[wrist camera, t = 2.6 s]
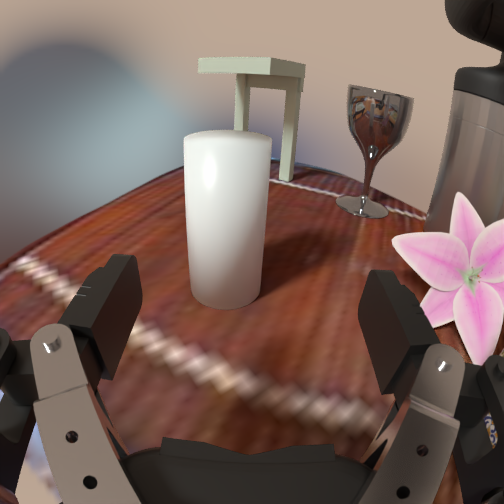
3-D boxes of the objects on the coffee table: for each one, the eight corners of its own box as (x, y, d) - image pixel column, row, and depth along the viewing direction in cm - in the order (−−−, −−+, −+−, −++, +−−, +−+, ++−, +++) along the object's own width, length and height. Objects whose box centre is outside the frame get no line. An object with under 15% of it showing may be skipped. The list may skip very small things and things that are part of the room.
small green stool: (294, 179, 45) (305, 64, 36) (261, 199, 38) (270, 57, 29) (237, 165, 49) (242, 61, 40) (197, 182, 42) (198, 58, 33)
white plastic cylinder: (272, 281, 24) (286, 137, 19) (235, 320, 21) (240, 152, 15) (217, 259, 27) (218, 127, 21) (176, 291, 23) (165, 140, 17)
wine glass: (320, 198, 40) (334, 82, 32) (360, 191, 43) (376, 89, 35) (365, 224, 34) (388, 92, 26) (402, 214, 37) (426, 101, 29)
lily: (361, 286, 26) (378, 220, 18) (450, 228, 27) (481, 159, 19) (435, 400, 20) (494, 382, 12) (519, 320, 21) (577, 273, 13)
